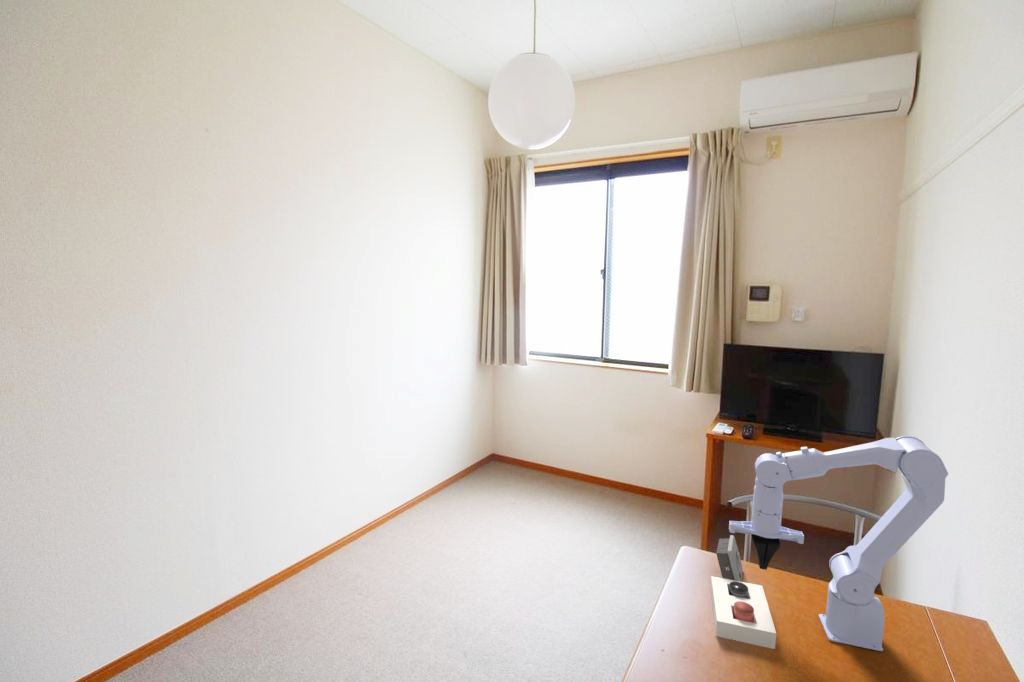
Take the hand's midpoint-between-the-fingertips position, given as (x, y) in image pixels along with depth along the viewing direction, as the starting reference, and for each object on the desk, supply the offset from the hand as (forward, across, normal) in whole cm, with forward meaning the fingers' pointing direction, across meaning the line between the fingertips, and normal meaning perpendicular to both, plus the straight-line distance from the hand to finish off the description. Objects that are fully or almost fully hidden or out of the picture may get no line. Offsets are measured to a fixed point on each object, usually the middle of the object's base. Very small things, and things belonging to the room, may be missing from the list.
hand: (762, 566), depth 107 cm
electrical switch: (+11, +5, -11) cm, 16 cm away
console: (+10, +4, +4) cm, 12 cm away
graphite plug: (+10, +5, 0) cm, 11 cm away
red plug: (+9, +4, +8) cm, 13 cm away
